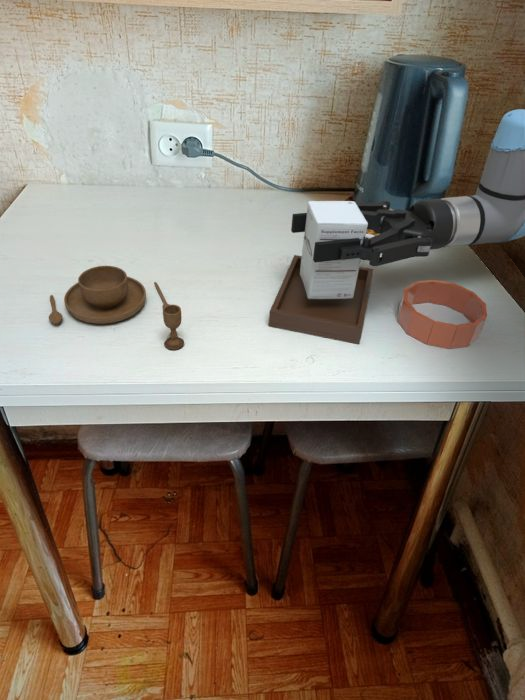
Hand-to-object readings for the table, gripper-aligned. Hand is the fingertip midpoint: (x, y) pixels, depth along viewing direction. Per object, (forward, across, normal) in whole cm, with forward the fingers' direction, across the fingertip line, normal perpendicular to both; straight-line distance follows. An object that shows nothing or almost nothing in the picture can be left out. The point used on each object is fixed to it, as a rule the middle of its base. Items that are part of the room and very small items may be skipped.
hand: (303, 237), depth 73 cm
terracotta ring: (-20, -9, -12) cm, 25 cm away
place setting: (+28, +3, -12) cm, 30 cm away
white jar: (-19, +14, -12) cm, 27 cm away
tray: (-5, 0, -12) cm, 13 cm away
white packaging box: (-5, 0, -9) cm, 10 cm away
